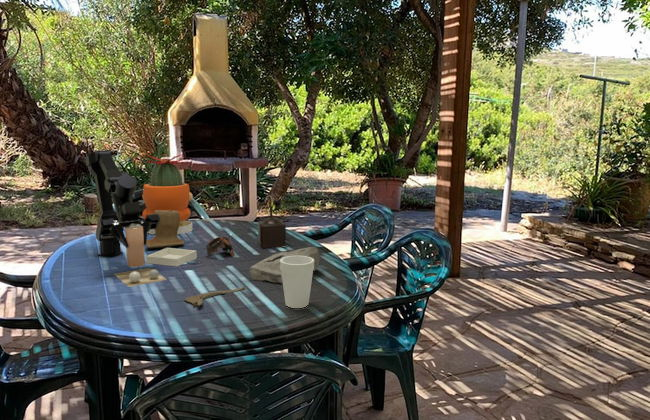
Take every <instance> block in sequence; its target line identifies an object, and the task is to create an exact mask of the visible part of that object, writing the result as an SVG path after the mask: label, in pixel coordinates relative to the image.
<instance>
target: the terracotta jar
mask: <svg viewBox="0 0 650 420" xmlns="http://www.w3.org/2000/svg"><path fill="white" fill-rule="evenodd" d="M124 229H125V238H126V240H127V243H128V248H126V247H125V248H126V264H127V266H128V267H130V268H131V267H133V268H136V267H137V268H138V267H142V266H145V264H146V256H145V245H144V234H143V226H141V225H140V224H134V223H132V224H131V225H130V226H127V227H125V228H124Z"/></svg>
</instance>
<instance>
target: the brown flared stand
mask: <svg viewBox="0 0 650 420" xmlns="http://www.w3.org/2000/svg"><path fill="white" fill-rule="evenodd" d="M154 214H158V215H159V216H160V219H161V220H160V222H159V225H158V227H157V228H156V229H155V232H156V235H154V237H153V238H150V239H147V242H146V245H145V246H146V249H157V248H159V249H160V248H171V247H176V246H182V245H184V244H185V241H184V240H183V239H181V238H180V237H178V234H177V232H178V228H179V224H180V214H179V212H178V211H162V210H156V211H154Z"/></svg>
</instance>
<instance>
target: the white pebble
mask: <svg viewBox="0 0 650 420" xmlns="http://www.w3.org/2000/svg"><path fill="white" fill-rule="evenodd" d="M133 271H134V270H133ZM140 277H141V276H140V273H139V272H136V271H134V272H131V273H130V275H129V280H130V281H131V282H138V281H139V280H140Z"/></svg>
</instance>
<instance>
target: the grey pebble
mask: <svg viewBox="0 0 650 420" xmlns="http://www.w3.org/2000/svg"><path fill="white" fill-rule="evenodd" d="M159 274H160V272H159V271H158V269H153V270H151V271H150V272H149V277H150V278H152V279H155V278H157V277H158V276H159Z"/></svg>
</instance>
